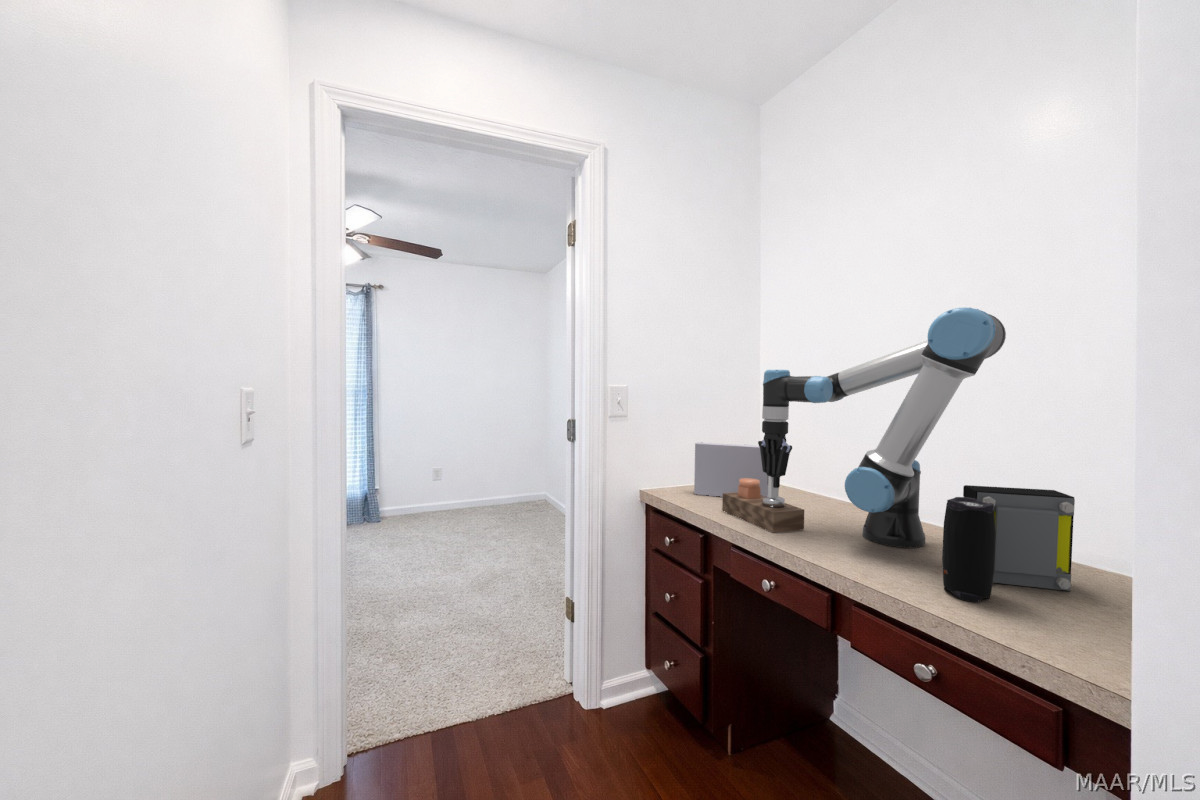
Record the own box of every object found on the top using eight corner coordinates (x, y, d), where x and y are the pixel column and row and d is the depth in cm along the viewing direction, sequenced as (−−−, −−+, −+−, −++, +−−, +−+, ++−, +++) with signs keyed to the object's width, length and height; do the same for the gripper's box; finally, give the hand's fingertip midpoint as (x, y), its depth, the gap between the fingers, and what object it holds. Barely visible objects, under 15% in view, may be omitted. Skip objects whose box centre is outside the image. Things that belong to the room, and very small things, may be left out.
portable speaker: (946, 599, 100) (949, 503, 99) (937, 582, 108) (940, 494, 107) (999, 608, 96) (1002, 508, 95) (986, 590, 104) (989, 498, 104)
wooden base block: (803, 529, 146) (804, 509, 146) (773, 533, 143) (773, 512, 142) (749, 508, 171) (750, 491, 171) (722, 510, 167) (722, 493, 167)
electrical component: (976, 584, 107) (980, 493, 107) (957, 567, 117) (961, 483, 117) (1076, 595, 102) (1081, 499, 102) (1048, 576, 112) (1052, 489, 111)
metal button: (788, 518, 149) (789, 499, 149) (771, 520, 147) (771, 501, 147) (774, 513, 155) (775, 495, 155) (757, 515, 153) (758, 496, 153)
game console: (696, 491, 196) (697, 441, 196) (769, 498, 186) (770, 445, 185) (693, 494, 191) (694, 443, 190) (768, 501, 181) (769, 447, 180)
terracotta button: (763, 499, 160) (763, 481, 160) (746, 500, 158) (747, 482, 158) (751, 494, 166) (751, 477, 166) (735, 496, 164) (735, 478, 164)
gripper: (800, 422, 145) (798, 501, 146) (771, 418, 157) (769, 492, 158) (779, 422, 143) (777, 503, 144) (751, 418, 155) (749, 493, 156)
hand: (773, 497), depth 151 cm, fingers closed
